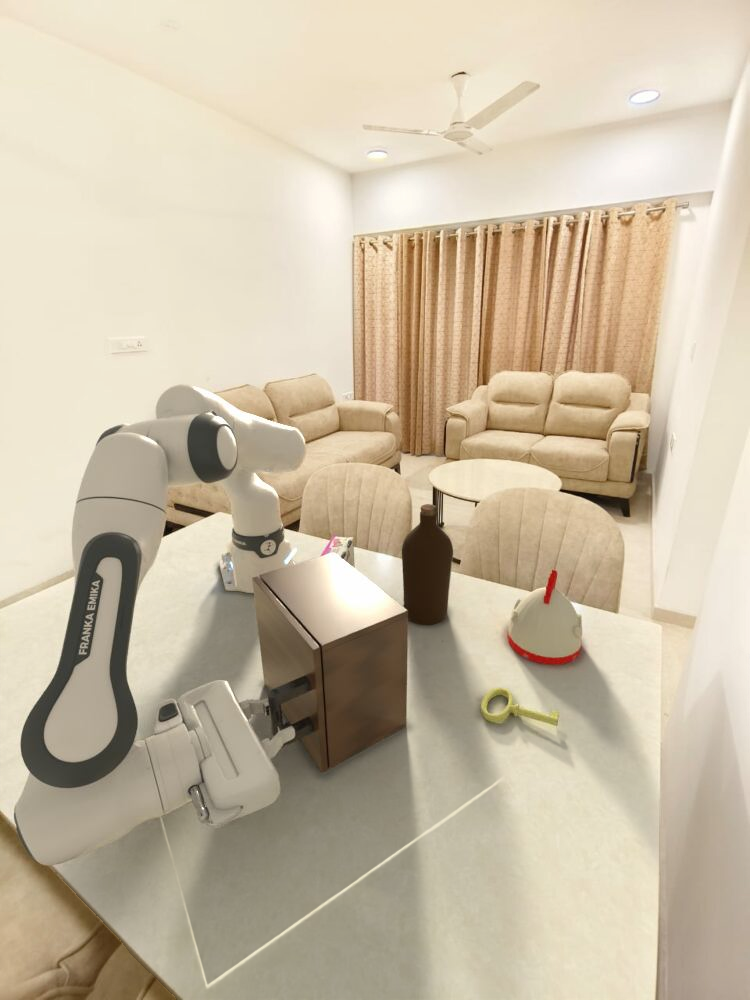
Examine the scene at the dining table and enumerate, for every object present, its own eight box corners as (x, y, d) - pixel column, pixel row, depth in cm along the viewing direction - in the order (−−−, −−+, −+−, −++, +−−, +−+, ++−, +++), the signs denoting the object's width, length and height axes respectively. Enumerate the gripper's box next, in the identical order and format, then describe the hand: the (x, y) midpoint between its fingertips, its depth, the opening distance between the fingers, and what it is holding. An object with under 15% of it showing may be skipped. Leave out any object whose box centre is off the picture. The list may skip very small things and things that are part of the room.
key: (560, 733, 78) (562, 722, 78) (480, 721, 81) (481, 711, 80) (554, 699, 85) (556, 689, 84) (480, 690, 87) (481, 680, 87)
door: (284, 793, 69) (270, 667, 61) (232, 696, 86) (216, 588, 78) (328, 769, 73) (320, 647, 65) (269, 681, 90) (257, 576, 82)
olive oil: (411, 631, 103) (413, 520, 94) (394, 603, 113) (394, 500, 103) (458, 621, 106) (464, 513, 97) (437, 595, 116) (441, 494, 106)
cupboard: (329, 769, 73) (321, 645, 65) (270, 681, 90) (259, 574, 82) (406, 727, 80) (408, 610, 72) (338, 652, 97) (333, 552, 89)
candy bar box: (335, 599, 115) (332, 534, 108) (356, 601, 114) (354, 536, 108) (321, 628, 104) (316, 559, 98) (344, 631, 103) (341, 561, 97)
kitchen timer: (585, 632, 102) (596, 568, 97) (574, 673, 91) (586, 603, 85) (516, 614, 108) (523, 552, 103) (499, 650, 97) (505, 583, 92)
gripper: (199, 813, 52) (318, 751, 59) (157, 694, 68) (254, 656, 75) (207, 854, 54) (320, 789, 61) (165, 729, 70) (258, 689, 77)
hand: (284, 715), depth 68 cm, fingers open, 4 cm apart
